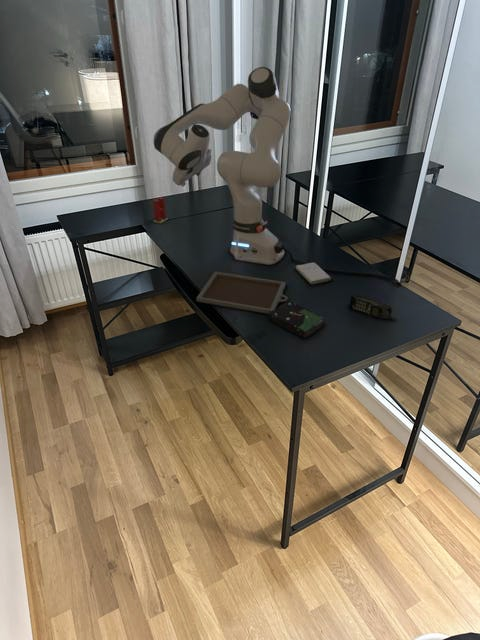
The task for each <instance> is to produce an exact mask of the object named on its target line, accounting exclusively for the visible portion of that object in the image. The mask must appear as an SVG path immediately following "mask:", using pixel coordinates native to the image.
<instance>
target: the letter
mask: <svg viewBox="0 0 480 640" xmlns="http://www.w3.org/2000/svg"><path fill="white" fill-rule="evenodd" d="M152 205H153V214H154V220H155V221H158V222H160V221H161V219H164V220H165V219H166V218H167V211H166V202H165V198H164V197H161V196H160V197H158V198H157V199H155V198H154V199H152Z"/></svg>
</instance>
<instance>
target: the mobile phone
mask: <svg viewBox="0 0 480 640" xmlns="http://www.w3.org/2000/svg"><path fill="white" fill-rule="evenodd" d="M349 301H350V302H349V308H350V309H352V310H355V311H358V312H361V313H364V314H367V315H369V316H371V317H374V318H378V319H382V320H383V319H384V320H387V319H390V320H394V321H395V320H396V318H395V317H392V312H393V311H392V307H391V306H390V305H388V304H386V303H384V302H380V301H378V300H374V299H371V298H368V297H365V296H362V295H358V294H353V295H351V296H350V300H349Z"/></svg>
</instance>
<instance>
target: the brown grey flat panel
mask: <svg viewBox="0 0 480 640" xmlns="http://www.w3.org/2000/svg"><path fill="white" fill-rule="evenodd" d="M286 286H287V282H284V281H279V280H275V279H274V280H273V279H266V278H259V277H253V276H249V275H241V274H234V273H228V272H221V271H214V272H213V273H212V275H211V276H210V278H209V279H208V281H207V282H206V283H205V285H204V286H203V287H202V288H201V291H200V292H199V293H198V295H197V296H196V299H195V301H196V302H197V303H202V304H209V305H215V306H220V307H226V308H232V309H238V310H244V311H250V312H255V313H261V314H266V315H269V313H270V312H272V311H273V310H274V311H276V309H277V308H278V305H279V304H281V303H286V302H287V301H289V298H288V296H286V295H285V294H284V291H285V288H286Z"/></svg>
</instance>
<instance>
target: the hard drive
mask: <svg viewBox="0 0 480 640" xmlns="http://www.w3.org/2000/svg"><path fill="white" fill-rule="evenodd" d="M307 263H308V264H298V265H295V270H296V271H297V272H298V273H299V274H300V275H301V276H302V277H303V278H304V279H305V280H306V281H307V282H308V283H309V285H317V284H321V283H327V282H330V281H331V280H332V277H331V276H330V275H329V274H328V273H327V272H325V270H322V269H321V268H320V267H321V266H319V265H318V264H317V263H316V262H307Z"/></svg>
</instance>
